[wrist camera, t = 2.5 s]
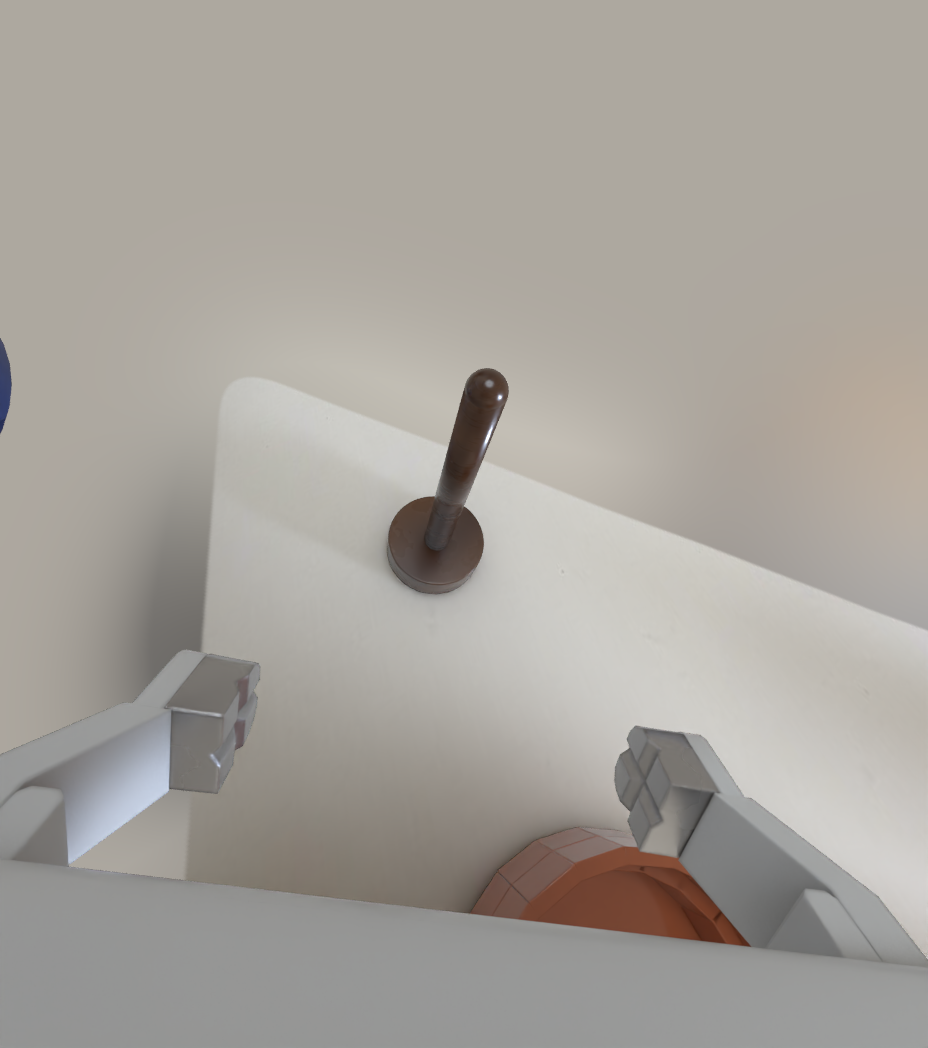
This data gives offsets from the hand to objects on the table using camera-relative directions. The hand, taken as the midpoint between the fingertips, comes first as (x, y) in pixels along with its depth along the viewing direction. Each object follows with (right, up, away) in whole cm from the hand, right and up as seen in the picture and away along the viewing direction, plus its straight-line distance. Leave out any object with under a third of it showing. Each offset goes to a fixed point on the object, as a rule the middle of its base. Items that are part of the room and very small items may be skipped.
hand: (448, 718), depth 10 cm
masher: (-2, +2, +21) cm, 22 cm away
